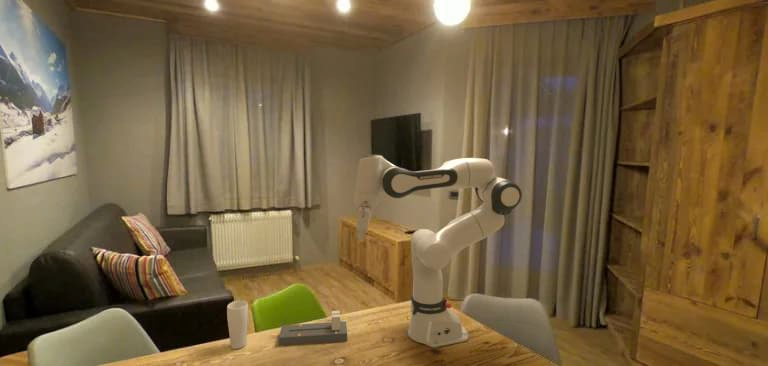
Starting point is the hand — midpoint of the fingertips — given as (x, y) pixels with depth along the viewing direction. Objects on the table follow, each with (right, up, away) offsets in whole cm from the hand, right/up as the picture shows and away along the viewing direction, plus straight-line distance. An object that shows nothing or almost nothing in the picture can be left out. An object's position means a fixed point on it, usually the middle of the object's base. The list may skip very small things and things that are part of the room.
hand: (361, 237), depth 129 cm
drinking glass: (-43, -38, -2) cm, 58 cm away
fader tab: (-10, -34, +5) cm, 36 cm away
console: (-18, -37, +5) cm, 42 cm away
